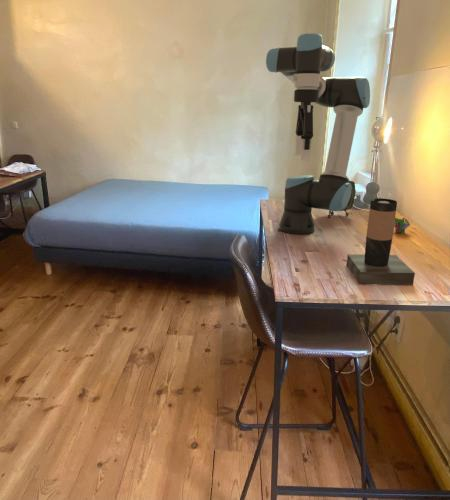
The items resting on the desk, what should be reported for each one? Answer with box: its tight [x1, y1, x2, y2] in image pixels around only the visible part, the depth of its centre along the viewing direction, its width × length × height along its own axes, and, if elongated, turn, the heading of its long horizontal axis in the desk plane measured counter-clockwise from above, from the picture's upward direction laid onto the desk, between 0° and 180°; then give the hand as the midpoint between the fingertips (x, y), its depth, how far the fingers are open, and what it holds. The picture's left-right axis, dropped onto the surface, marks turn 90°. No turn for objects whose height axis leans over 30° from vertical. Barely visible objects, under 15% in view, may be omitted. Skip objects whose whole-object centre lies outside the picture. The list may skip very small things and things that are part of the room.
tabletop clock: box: [327, 180, 356, 219], centre depth 204 cm, size 14×9×25 cm, turn 114°
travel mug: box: [364, 197, 398, 267], centre depth 131 cm, size 8×8×20 cm
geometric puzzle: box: [394, 217, 411, 235], centre depth 180 cm, size 7×7×8 cm
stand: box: [346, 253, 416, 286], centre depth 135 cm, size 16×16×4 cm
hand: (302, 157), depth 140 cm, fingers open, 13 cm apart
